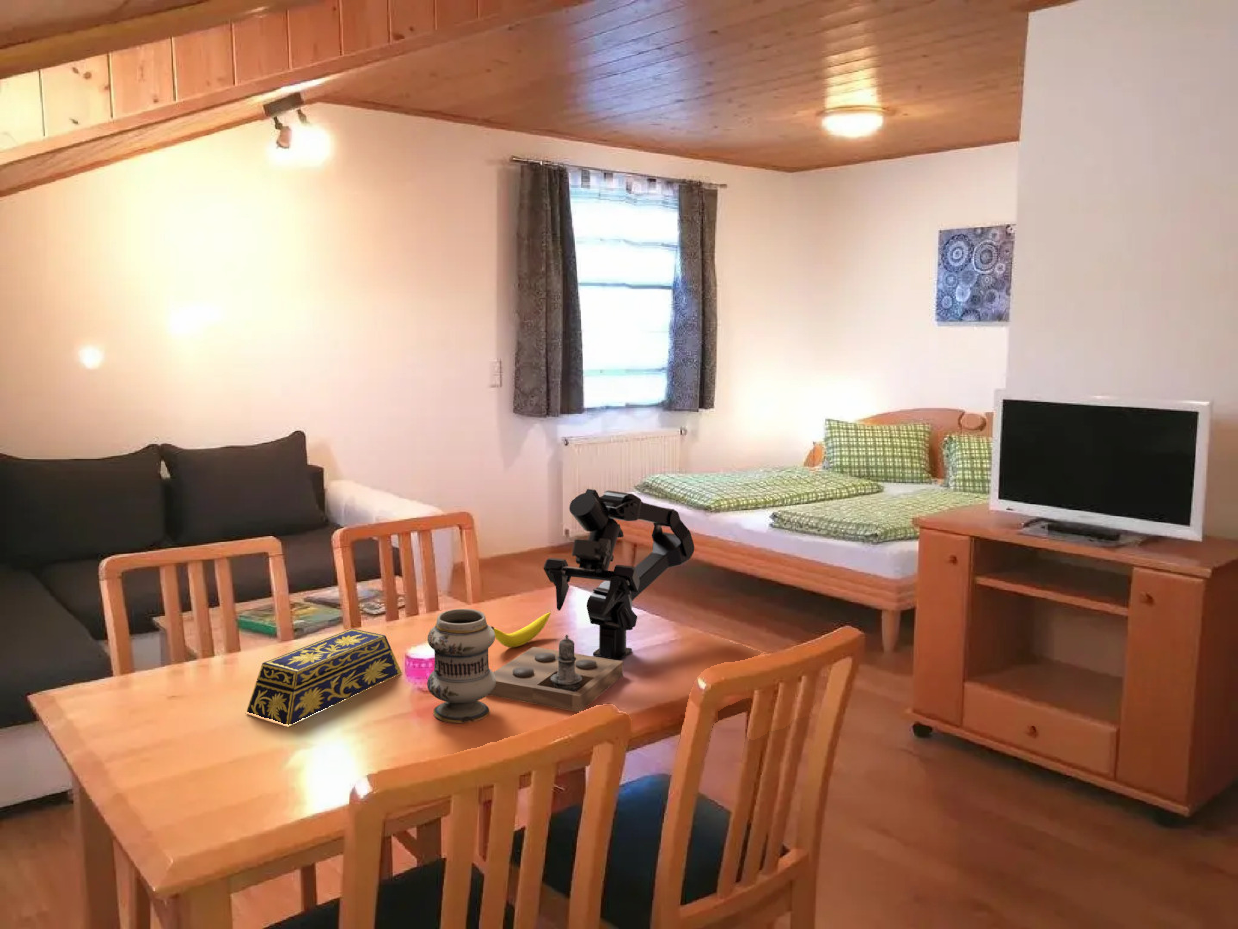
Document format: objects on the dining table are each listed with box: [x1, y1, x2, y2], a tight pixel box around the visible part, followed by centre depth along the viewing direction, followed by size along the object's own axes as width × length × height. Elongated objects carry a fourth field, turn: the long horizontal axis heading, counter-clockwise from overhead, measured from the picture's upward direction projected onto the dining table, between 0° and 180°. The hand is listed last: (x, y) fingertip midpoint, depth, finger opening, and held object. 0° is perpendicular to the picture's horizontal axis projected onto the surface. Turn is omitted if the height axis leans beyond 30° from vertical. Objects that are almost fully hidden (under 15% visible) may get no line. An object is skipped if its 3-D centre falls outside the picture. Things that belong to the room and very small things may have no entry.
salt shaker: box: [551, 634, 582, 692], centre depth 184 cm, size 6×6×12 cm
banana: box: [490, 611, 552, 648], centre depth 213 cm, size 3×19×6 cm, turn 144°
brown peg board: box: [488, 646, 624, 713], centre depth 191 cm, size 20×20×4 cm
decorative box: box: [246, 628, 403, 725], centre depth 184 cm, size 11×30×9 cm, turn 152°
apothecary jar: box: [426, 608, 496, 724], centre depth 176 cm, size 12×12×18 cm
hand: (580, 612), depth 192 cm, fingers open, 9 cm apart
